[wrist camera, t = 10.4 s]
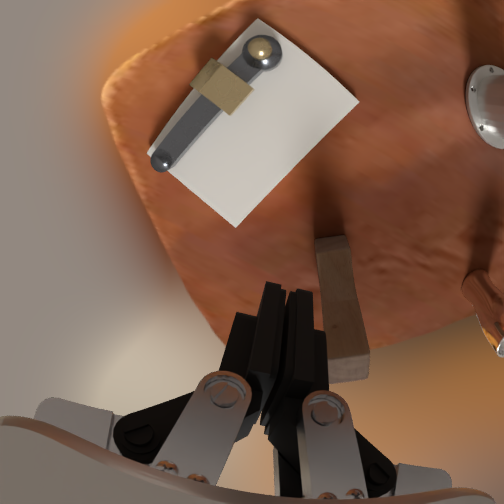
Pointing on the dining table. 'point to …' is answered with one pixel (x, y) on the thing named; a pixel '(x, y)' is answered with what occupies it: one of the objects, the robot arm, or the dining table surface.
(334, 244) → the wooden block
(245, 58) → the link
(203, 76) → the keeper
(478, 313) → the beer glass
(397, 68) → the dining table surface
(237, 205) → the base plate
